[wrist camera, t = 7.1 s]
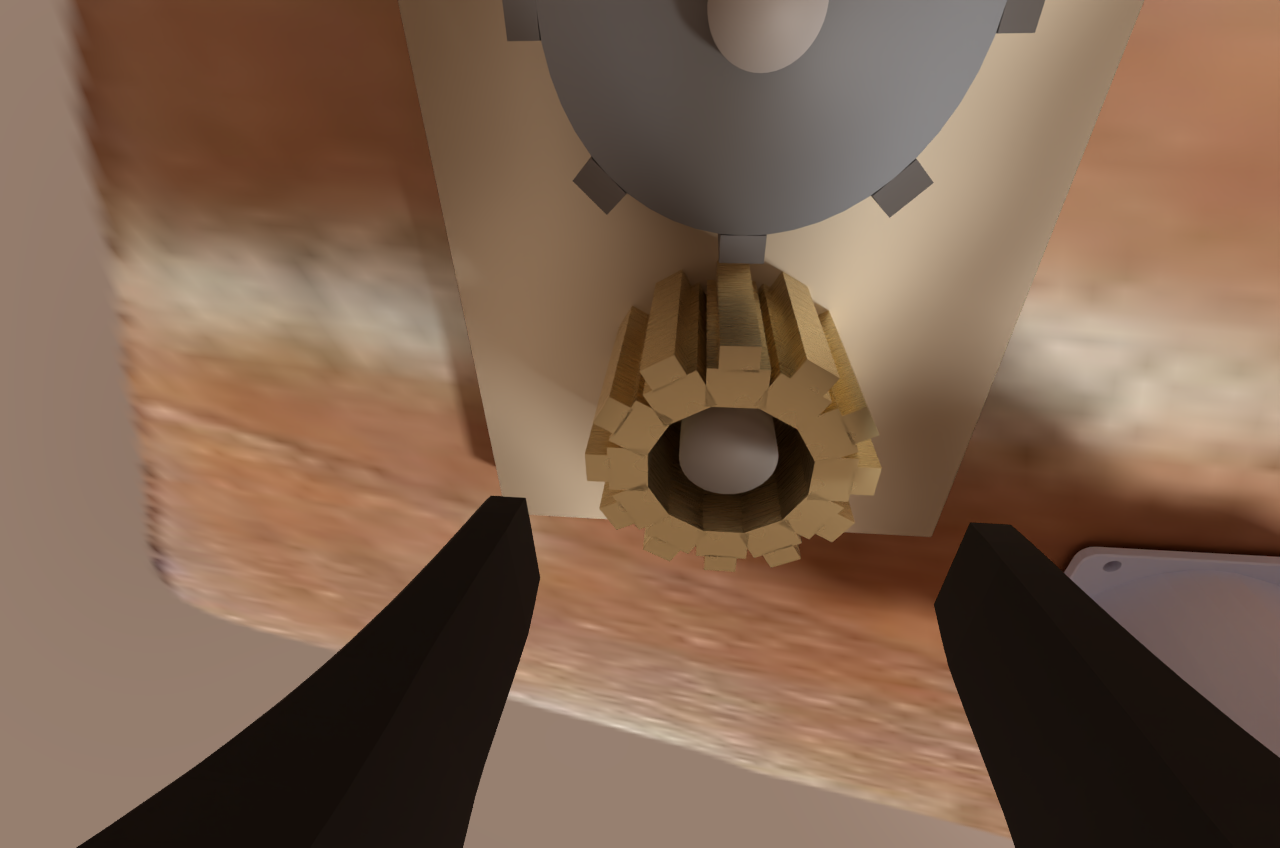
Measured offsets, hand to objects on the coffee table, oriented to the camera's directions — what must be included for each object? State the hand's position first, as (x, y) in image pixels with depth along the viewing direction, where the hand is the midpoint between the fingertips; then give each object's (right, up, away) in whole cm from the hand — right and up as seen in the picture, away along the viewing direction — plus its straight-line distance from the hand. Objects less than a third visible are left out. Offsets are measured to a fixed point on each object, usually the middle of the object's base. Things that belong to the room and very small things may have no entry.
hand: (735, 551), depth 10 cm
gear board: (+1, +7, +4) cm, 8 cm away
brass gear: (+1, +3, +5) cm, 6 cm away
